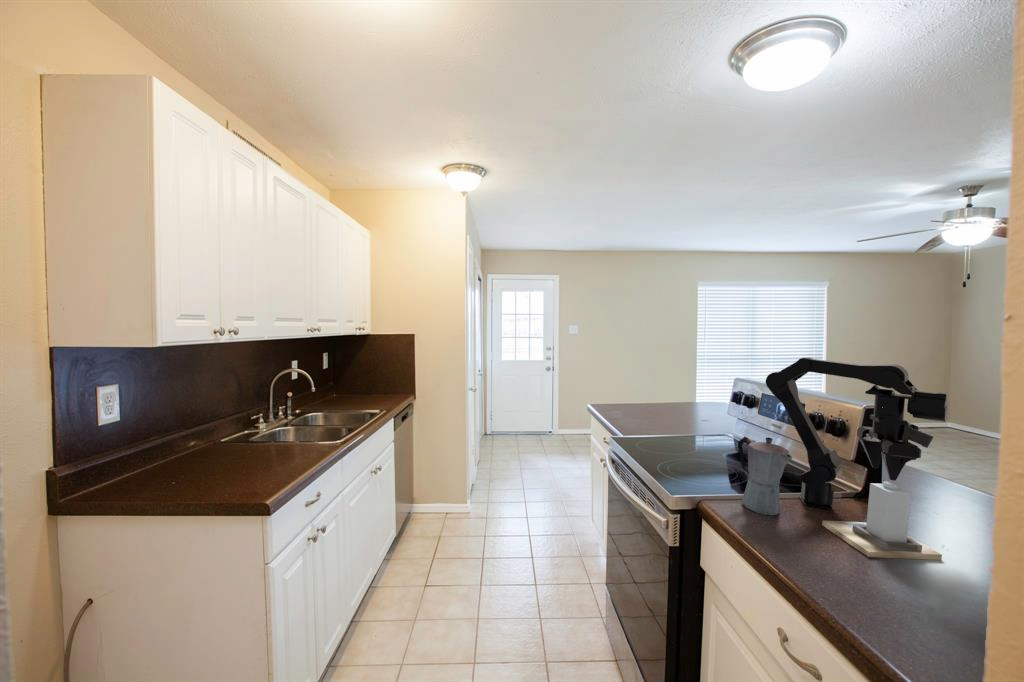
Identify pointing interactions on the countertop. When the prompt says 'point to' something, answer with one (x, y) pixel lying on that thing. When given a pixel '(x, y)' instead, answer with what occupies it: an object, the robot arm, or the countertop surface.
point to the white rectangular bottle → (888, 512)
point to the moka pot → (763, 475)
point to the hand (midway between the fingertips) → (883, 473)
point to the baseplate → (879, 542)
